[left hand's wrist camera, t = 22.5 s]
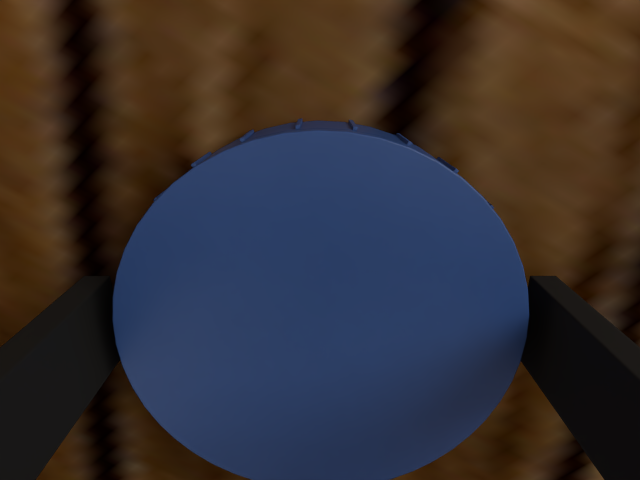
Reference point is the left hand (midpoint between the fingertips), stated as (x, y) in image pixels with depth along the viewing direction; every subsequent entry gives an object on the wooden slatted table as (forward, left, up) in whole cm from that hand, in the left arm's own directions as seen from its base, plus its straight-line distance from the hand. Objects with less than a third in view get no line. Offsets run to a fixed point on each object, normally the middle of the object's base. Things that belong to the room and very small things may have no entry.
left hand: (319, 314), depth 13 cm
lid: (0, 0, +1) cm, 1 cm away
